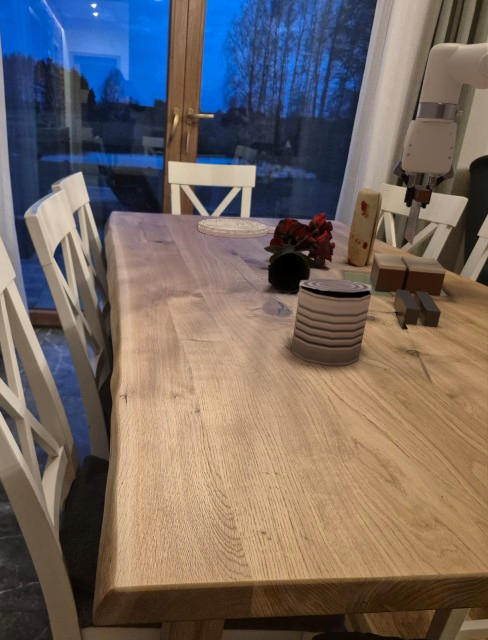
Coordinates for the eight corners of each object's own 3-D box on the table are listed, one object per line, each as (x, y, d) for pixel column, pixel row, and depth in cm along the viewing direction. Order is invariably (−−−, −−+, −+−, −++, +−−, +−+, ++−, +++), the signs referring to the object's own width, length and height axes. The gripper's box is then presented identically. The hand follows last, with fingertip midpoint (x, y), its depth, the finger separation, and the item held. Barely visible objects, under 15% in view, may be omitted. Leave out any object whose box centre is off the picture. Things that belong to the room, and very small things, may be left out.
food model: (342, 261, 161) (355, 185, 152) (366, 263, 160) (380, 187, 151) (345, 269, 152) (359, 189, 143) (371, 271, 151) (387, 191, 142)
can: (290, 362, 91) (300, 288, 86) (289, 338, 101) (298, 270, 96) (364, 369, 90) (378, 294, 84) (355, 344, 100) (367, 276, 95)
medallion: (191, 224, 203) (192, 217, 202) (264, 226, 208) (265, 219, 207) (205, 237, 182) (206, 230, 181) (286, 238, 187) (287, 231, 186)
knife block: (392, 307, 122) (396, 289, 120) (423, 310, 121) (427, 292, 119) (402, 328, 109) (406, 308, 107) (436, 332, 108) (441, 311, 106)
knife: (398, 235, 135) (409, 184, 130) (409, 236, 135) (420, 185, 130) (406, 245, 124) (418, 189, 119) (418, 246, 124) (430, 190, 119)
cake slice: (393, 279, 141) (398, 255, 138) (400, 293, 129) (406, 266, 127) (369, 277, 142) (374, 252, 139) (374, 291, 130) (380, 264, 127)
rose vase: (288, 326, 131) (287, 280, 161) (360, 280, 124) (345, 240, 154) (248, 271, 126) (254, 234, 156) (321, 220, 119) (313, 191, 149)
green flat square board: (434, 283, 143) (434, 280, 142) (451, 306, 125) (452, 302, 125) (343, 275, 146) (344, 271, 146) (348, 295, 128) (348, 292, 128)
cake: (428, 282, 139) (434, 258, 137) (439, 297, 128) (446, 270, 125) (396, 279, 141) (401, 255, 138) (404, 293, 129) (410, 267, 126)
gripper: (472, 116, 120) (450, 208, 129) (393, 112, 123) (376, 202, 131) (482, 116, 114) (457, 212, 122) (398, 111, 116) (379, 206, 124)
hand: (415, 206), depth 126 cm, fingers closed on knife, 2 cm apart
